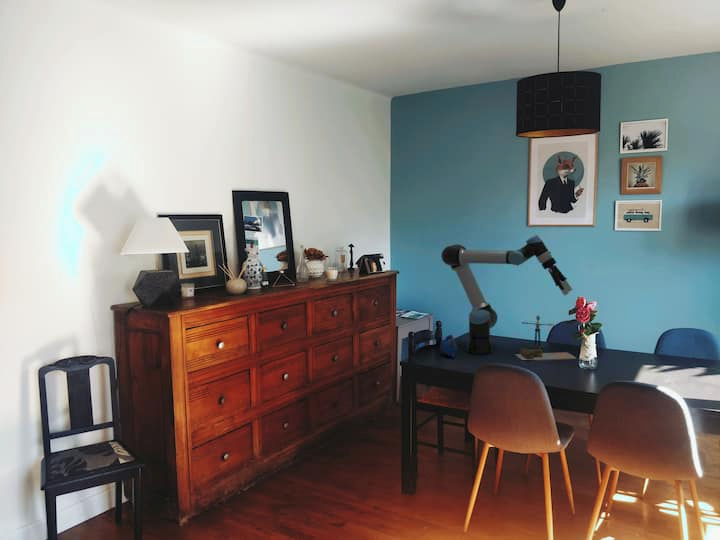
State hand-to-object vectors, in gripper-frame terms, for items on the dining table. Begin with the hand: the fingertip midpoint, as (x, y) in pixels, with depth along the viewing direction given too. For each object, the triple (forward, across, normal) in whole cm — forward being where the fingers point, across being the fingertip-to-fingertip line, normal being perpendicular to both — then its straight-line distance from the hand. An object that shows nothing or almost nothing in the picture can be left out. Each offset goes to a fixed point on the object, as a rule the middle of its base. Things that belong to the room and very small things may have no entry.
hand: (568, 292), depth 312 cm
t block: (+19, -15, +32) cm, 41 cm away
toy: (-4, -29, +69) cm, 75 cm away
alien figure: (+19, +8, +34) cm, 40 cm away
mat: (+23, -12, +28) cm, 38 cm away
